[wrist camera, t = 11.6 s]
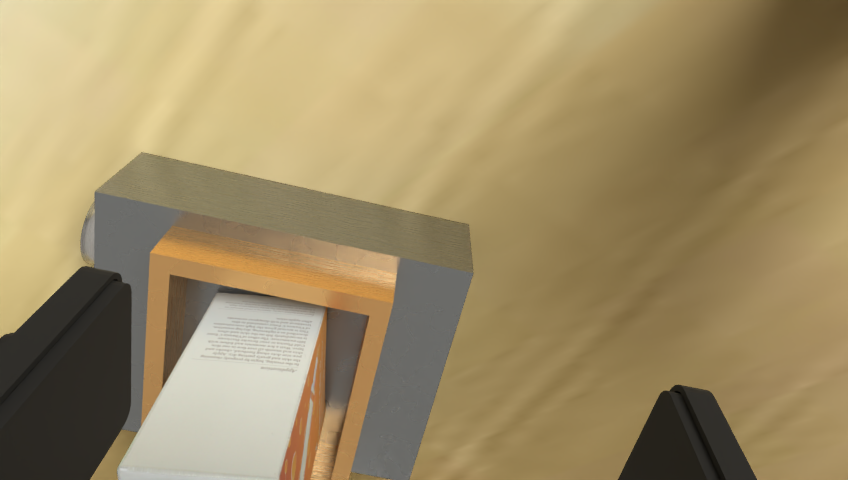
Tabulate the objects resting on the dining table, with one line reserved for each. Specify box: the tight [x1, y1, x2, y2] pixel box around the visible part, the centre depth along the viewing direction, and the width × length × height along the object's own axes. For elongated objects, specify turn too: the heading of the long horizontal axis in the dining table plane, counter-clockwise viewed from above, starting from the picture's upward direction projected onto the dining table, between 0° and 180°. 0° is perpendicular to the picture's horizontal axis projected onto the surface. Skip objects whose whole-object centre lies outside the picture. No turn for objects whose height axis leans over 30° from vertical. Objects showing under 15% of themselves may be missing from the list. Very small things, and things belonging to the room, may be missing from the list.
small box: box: [117, 293, 328, 480], centre depth 32 cm, size 8×6×13 cm
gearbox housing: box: [81, 153, 473, 480], centre depth 39 cm, size 21×16×9 cm
